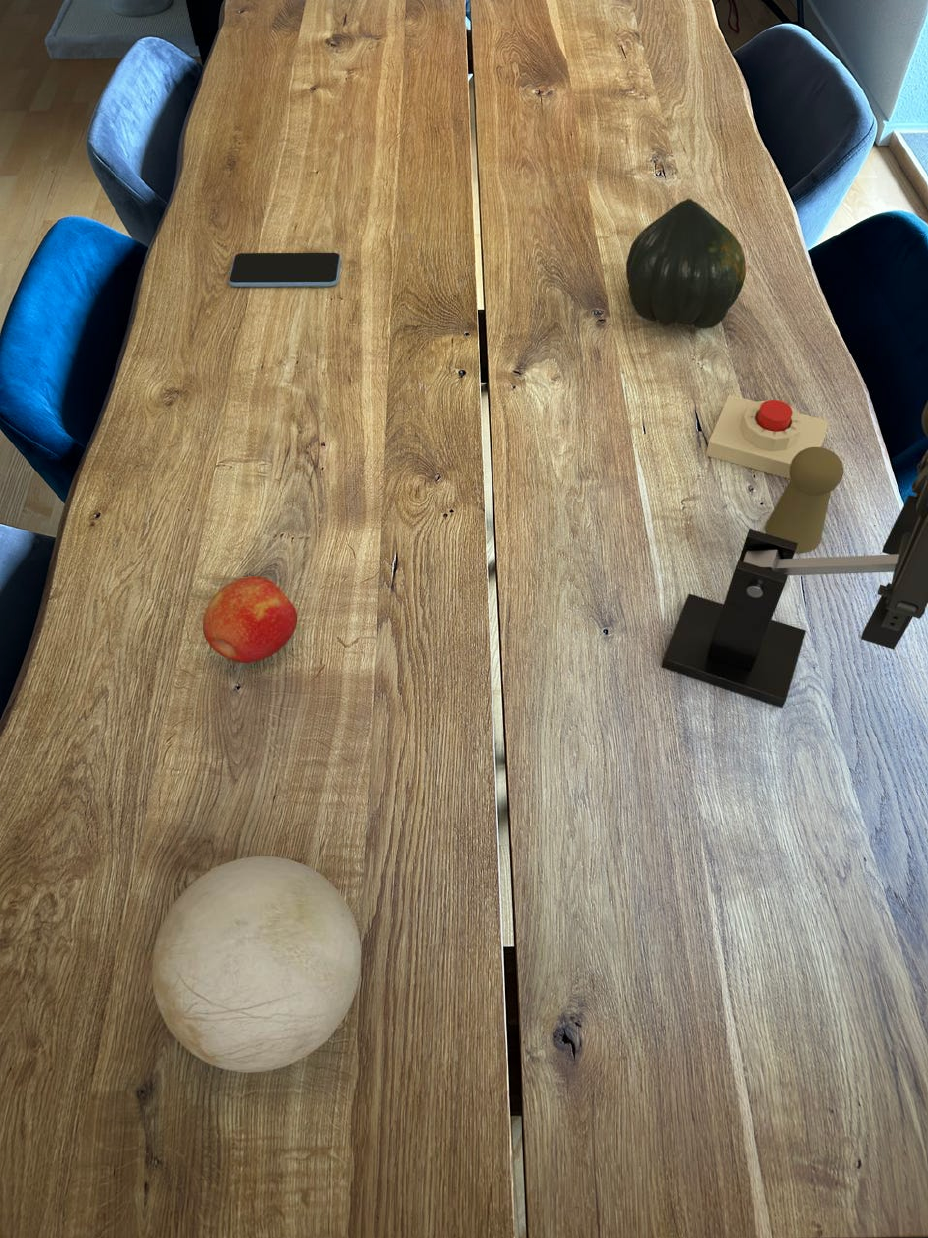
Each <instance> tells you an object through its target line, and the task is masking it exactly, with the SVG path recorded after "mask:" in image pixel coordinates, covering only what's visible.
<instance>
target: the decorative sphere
mask: <svg viewBox="0 0 928 1238" xmlns="http://www.w3.org/2000/svg"><path fill="white" fill-rule="evenodd" d="M358 929H359V928H358V925H357V922H356V918H355V916H354V914H353V912H352V910H351V908H350V906H349V905H348V903H347V902H346V900H345V899H344V897H343V896H342V894H341V892H340V891H339V890H338V889H337V888H336V887H335V886H334V885H333V884H332V883H331V882H330V880H328V879H327V878H326V877H324V876H323V875H322V874H320V872H318V871H316V870H315V869H313V868H311V867H309V866H307V864H304V863H301V862H298V861H296V860H292V859H289V858H287V857H280V856H275V855H274V856H273V855H253V856H247V857H241V858H237V859H234V860H231V861H228V862H225V863H223V864H220V865H218V866H216V867H214V868H212V869H210V870H208V871H207V872H206V873H204V874H203V875H201V876H200V877H199V878H197V879H196V880H195V881H194V882H192V883H191V884H190V885H189V886H187V887H186V888H185V889H184V891H183V892H182V893H181V894H180V896H178V898H177V899H176V900H175V901H174V903H173V904H172V906H171V907H170V909H169V911H168V912H167V913H166V915H165V917H164V920H163V922H162V924H161V927H160V928H159V931H158V934H157V937H156V940H155V943H154V949H153V954H152V955H153V956H152V961H151V973H152V974H151V976H152V977H151V978H152V980H151V981H152V986H153V992H154V997H155V1001H156V1005H157V1008H158V1010H159V1012H160V1014H161V1017H162V1019H163V1021H164V1023H165V1026H166V1027H167V1028H168V1030H169V1031H170V1033H171V1034H172V1035H173V1037H174V1038H175V1039H176V1041H178V1043H180V1044H181V1046H183V1048H184V1049H186V1050H187V1051H188V1052H190V1054H192V1055H193V1056H195V1057H197V1058H198V1059H200V1060H201V1061H203V1062H204V1063H207V1064H209V1065H210V1066H211V1065H212V1066H214V1067H217V1068H219V1069H222V1070H225V1071H232V1072H238V1073H265V1072H270V1071H274V1070H276V1069H277V1070H278V1069H281V1068H284V1067H287V1066H289V1065H292V1064H295V1063H296V1062H298V1061H300V1060H302V1059H303V1058H305V1057H307V1056H309V1055H310V1054H312V1053H313V1052H315V1051H317V1049H319V1047H321V1046H322V1045H323V1044H324V1043H325V1042H326V1041H327V1040H328V1039H330V1038H331V1036H333V1034H334V1032H336V1030H337V1029H338V1028H339V1026H340V1025H341V1023H342V1022H343V1020H344V1019H345V1017H346V1015H347V1014H348V1012H349V1010H350V1008H351V1006H352V1003H353V1001H354V998H355V996H356V993H357V989H358V986H359V982H360V976H361V971H362V951H363V950H362V945H361V938H360V933H359V930H358Z"/></svg>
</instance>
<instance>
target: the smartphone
mask: <svg viewBox="0 0 928 1238" xmlns="http://www.w3.org/2000/svg"><path fill="white" fill-rule="evenodd" d="M341 262H342V256H341V255H340V253H338V252H239V253H236V254H235V255H234V256H233V258H232V262H231V267H230V271H229V275H228V280H227V281H228V285H229V286H231V287H234V288H257V287H258V288H261V287H263V288H267V287H269V288H271V287H272V288H273V287H274V288H275V287H279V288H281V287H283V288H286V287H287V288H288V287H292V288H293V287H295V288H296V287H300V288H301V287H333V286H336V285H337V284H338V283H339V277H340V271H341Z"/></svg>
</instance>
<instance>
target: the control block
mask: <svg viewBox="0 0 928 1238" xmlns="http://www.w3.org/2000/svg"><path fill="white" fill-rule="evenodd" d="M765 401H766V400H758V401H755V400H752V399H748V398H743V397H740V396H736V395H732V394H727V397H726V400H725V402H724V404H723V406H722V410H721V411H720V414H719V417H718V419H717V421H716V424H715V426H714V428H713V431H712V433H711V436H710V438H709V440H708V444H707V447H706V451H705V456H706V457H710V458H713V459H716V460H720V461H724V462H728V463H731V464H735V465H738V466H742V467H745V468H748V469H752V470H756V471H759V472H763V473H766V474H770V475H774V476H777V477H781V478H784V479H788V480H791V479H790V466H791V463H792V460H793V458H794V457H795V456H796V455H797V454H798V453H799V452H800V451H802V450H804V449H806V448H809V447H822V446H823V443H824V440H825V437H826V434H827V430H828V429H829V424H830V420H827V419H823V418H819V417H815V416H812V415H808V414H804V413H801V412H799V411H798V410H797V409H795V408H793V406H791V405H789V406H790V407H791V409H792V417H791V420H790V423H789V426H788V427H787V428H786V429H785V430H784V431H780V432H773V431H769V430H765V429H763V428H762V427H761V426H759V424H758V422H757V417H758V413H759V410H760V406H761V405H762V403H764V402H765Z"/></svg>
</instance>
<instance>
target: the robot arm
mask: <svg viewBox="0 0 928 1238" xmlns="http://www.w3.org/2000/svg"><path fill="white" fill-rule="evenodd" d="M921 425H922V429H923V432H924V434H925V435H926V438H928V401H927V402H926V404H925V406H924V407H923V411H922V413H921ZM916 469H917V473H918V474H919V475H918V476H917V477H916V478H915V479H914V481H912V484H911V486H910V488H911V493H913V494H914V495H910V494H908V495H907V497H906V499H905V501H904V504H903V505H902V508H901V510H900V512H899V514H898V516H897V517H896V520H895V522H894V524H893V526H892V528H891V529H890V532H889V534H888V536H887V538H886V540H885V543H884V544H883V546H882V551H881V553H883V554H885V555H895V554H898V553H899V549H900V545H901V540H902V536H903V535H904V534H905V533H907V532H913V533H912V535H911V538H910V540H909V542H908V545H907V547H906V550H905V552H904V555H903V557H902V560H901V562H900V564H899V567H898V569H897V572H896V574H895V577H894V579H893V578H892V579H893V581H892V580H891V582H887V584H886V585H883V584H879V586H878V590H877V595H879V596H880V597H879V600H878V602H877V604H876V606H875V607H874V609H873V611H872V613H871V615H870V617H869V619H868V621H867V623H866V625H865V627H864V629H863V630H862V632H861V637H860V640H861V641H865V642H867V643H871V644H875V645H877V646H880V647H883V648H887V649H891V650H893V651H894V650H895V649H896V647H897V645H898V644H899V642H900V640H901V638H902V637H903V635H904V634H905V632H906V630H907V628H908V626H909V625H910V623H911V621H912V619H913V618H915V619H919V620H920V619H921V618H923V617H922V616H924V615H925V612H926V608H927V605H928V449H927V450H926V451H925V453H924V455H923V457H922V459H921V460H920V462H918V464H917V467H916Z"/></svg>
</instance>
